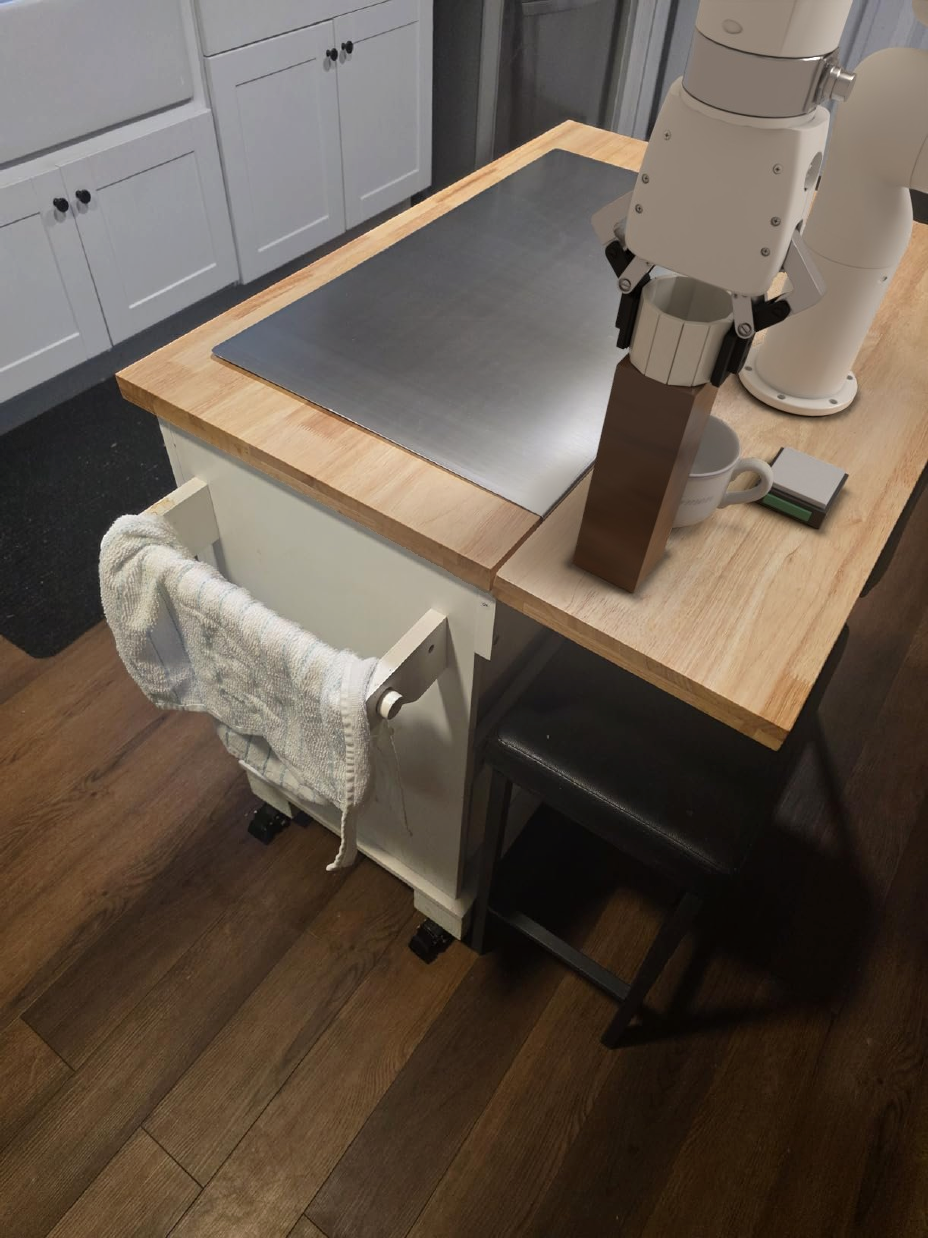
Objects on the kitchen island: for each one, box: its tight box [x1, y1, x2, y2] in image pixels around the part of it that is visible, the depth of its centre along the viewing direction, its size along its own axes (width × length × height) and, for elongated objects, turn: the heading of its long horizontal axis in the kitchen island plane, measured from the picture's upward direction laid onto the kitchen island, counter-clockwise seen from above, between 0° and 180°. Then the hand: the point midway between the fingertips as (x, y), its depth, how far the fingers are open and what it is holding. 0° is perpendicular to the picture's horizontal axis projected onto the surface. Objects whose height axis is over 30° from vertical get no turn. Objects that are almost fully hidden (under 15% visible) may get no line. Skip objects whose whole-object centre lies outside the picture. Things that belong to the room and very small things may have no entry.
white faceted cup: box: [628, 272, 734, 386], centre depth 59 cm, size 6×6×5 cm
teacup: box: [672, 413, 773, 529], centre depth 78 cm, size 14×11×8 cm
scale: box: [754, 445, 850, 530], centre depth 82 cm, size 7×7×3 cm
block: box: [571, 352, 720, 594], centre depth 69 cm, size 6×6×20 cm
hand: (675, 356), depth 61 cm, fingers closed on white faceted cup, 6 cm apart
